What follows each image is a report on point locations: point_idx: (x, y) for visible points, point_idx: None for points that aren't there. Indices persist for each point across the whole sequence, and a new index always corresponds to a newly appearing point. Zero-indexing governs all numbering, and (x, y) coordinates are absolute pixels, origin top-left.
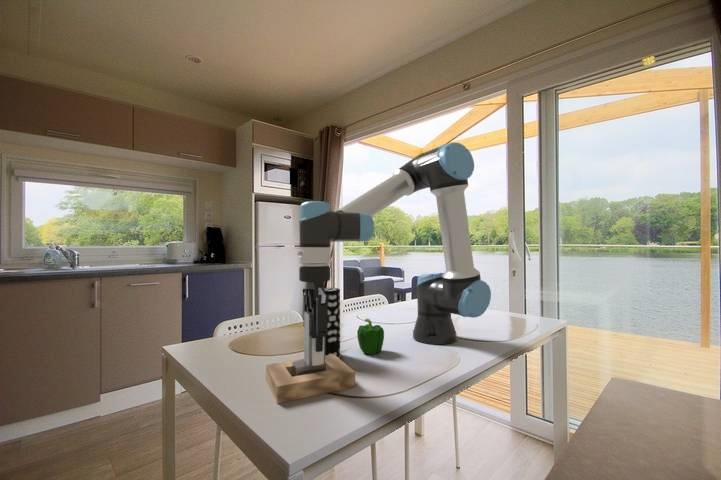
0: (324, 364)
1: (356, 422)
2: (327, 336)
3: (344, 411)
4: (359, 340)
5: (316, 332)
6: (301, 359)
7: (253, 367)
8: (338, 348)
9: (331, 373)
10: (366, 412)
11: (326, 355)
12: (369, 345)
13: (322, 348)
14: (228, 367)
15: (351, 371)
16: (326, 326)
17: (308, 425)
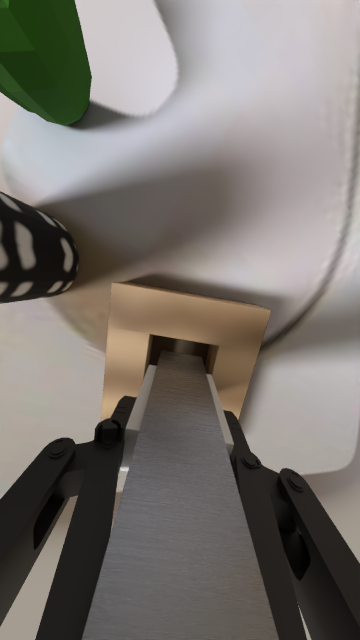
0: (203, 366)
1: (354, 375)
2: (10, 269)
3: (314, 372)
4: (20, 96)
5: (280, 533)
6: (105, 376)
7: (34, 422)
8: (47, 224)
9: (238, 362)
10: (345, 346)
11: (110, 307)
12: (73, 84)
13: (237, 421)
14: (13, 455)
15: (262, 317)
16: (345, 550)
17: (306, 428)
